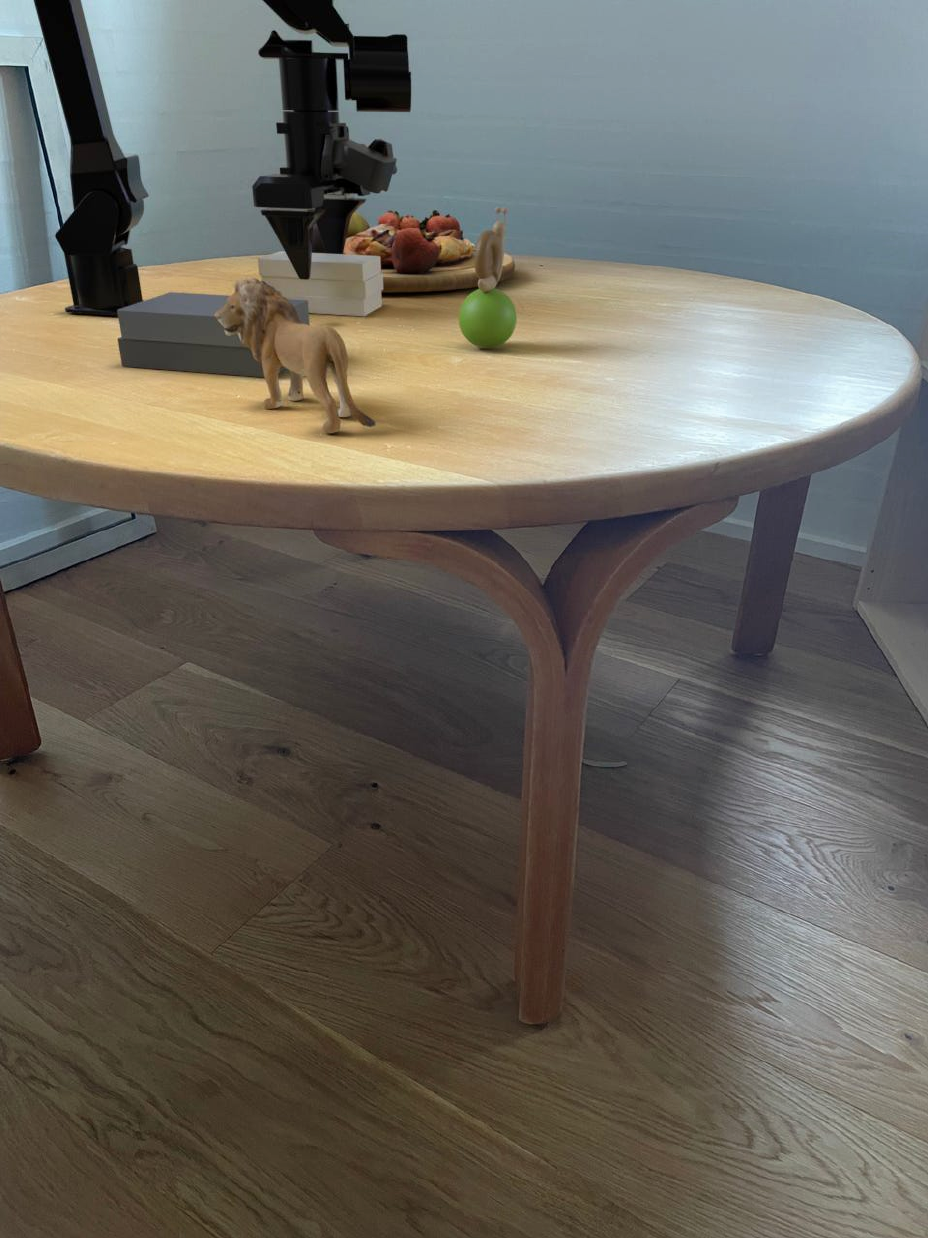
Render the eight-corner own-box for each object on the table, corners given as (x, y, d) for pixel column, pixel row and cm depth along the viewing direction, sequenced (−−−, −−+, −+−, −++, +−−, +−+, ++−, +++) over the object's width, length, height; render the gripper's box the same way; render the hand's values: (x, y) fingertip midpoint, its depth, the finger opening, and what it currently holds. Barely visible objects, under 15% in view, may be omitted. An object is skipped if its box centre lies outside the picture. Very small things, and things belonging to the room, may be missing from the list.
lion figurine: (216, 401, 71) (201, 278, 67) (270, 387, 75) (259, 270, 70) (348, 442, 63) (341, 305, 58) (402, 424, 66) (399, 294, 62)
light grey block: (262, 310, 102) (258, 275, 101) (284, 300, 108) (281, 267, 106) (366, 316, 100) (364, 281, 98) (383, 306, 105) (382, 272, 103)
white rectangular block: (259, 275, 101) (257, 258, 100) (281, 267, 106) (280, 251, 105) (363, 281, 98) (362, 263, 97) (381, 272, 103) (380, 255, 102)
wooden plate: (519, 299, 110) (522, 224, 106) (251, 295, 110) (244, 220, 106) (510, 259, 138) (512, 198, 133) (297, 256, 138) (293, 195, 134)
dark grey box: (121, 366, 80) (111, 309, 78) (174, 343, 88) (166, 291, 85) (271, 378, 77) (266, 319, 75) (313, 353, 85) (309, 299, 82)
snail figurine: (525, 341, 90) (530, 207, 84) (506, 356, 85) (510, 214, 79) (472, 337, 92) (474, 205, 86) (450, 351, 86) (451, 211, 80)
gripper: (354, 112, 85) (361, 290, 92) (412, 111, 100) (414, 263, 108) (242, 111, 87) (258, 285, 95) (316, 110, 103) (325, 259, 110)
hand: (320, 272), depth 102 cm, fingers open, 9 cm apart
